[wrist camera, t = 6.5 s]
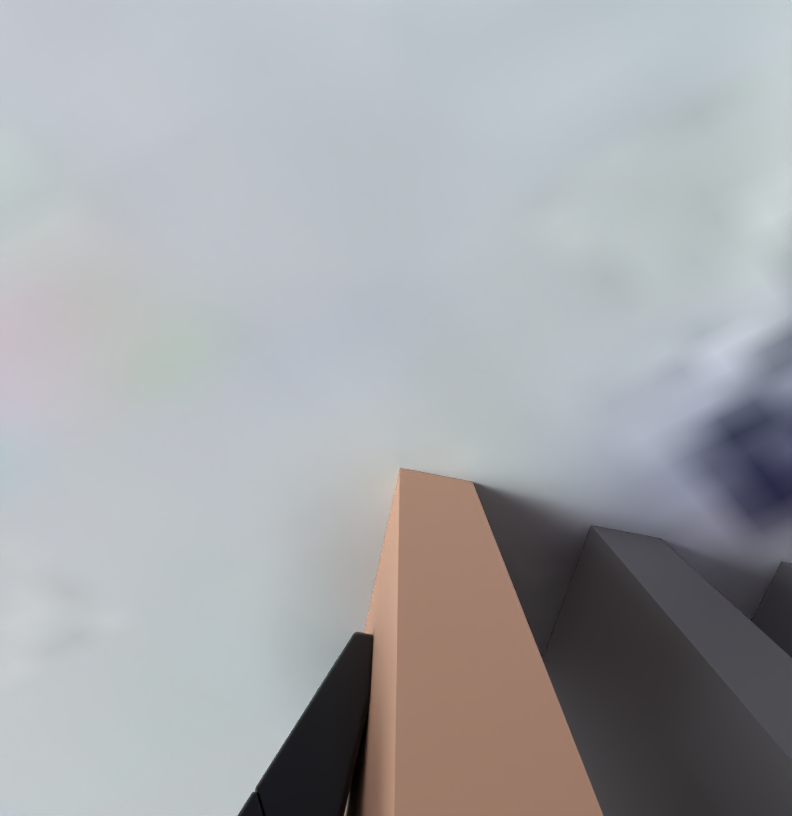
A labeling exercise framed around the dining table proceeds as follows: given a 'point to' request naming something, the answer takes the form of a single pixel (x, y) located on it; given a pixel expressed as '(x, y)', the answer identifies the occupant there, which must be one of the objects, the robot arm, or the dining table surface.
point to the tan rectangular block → (457, 675)
